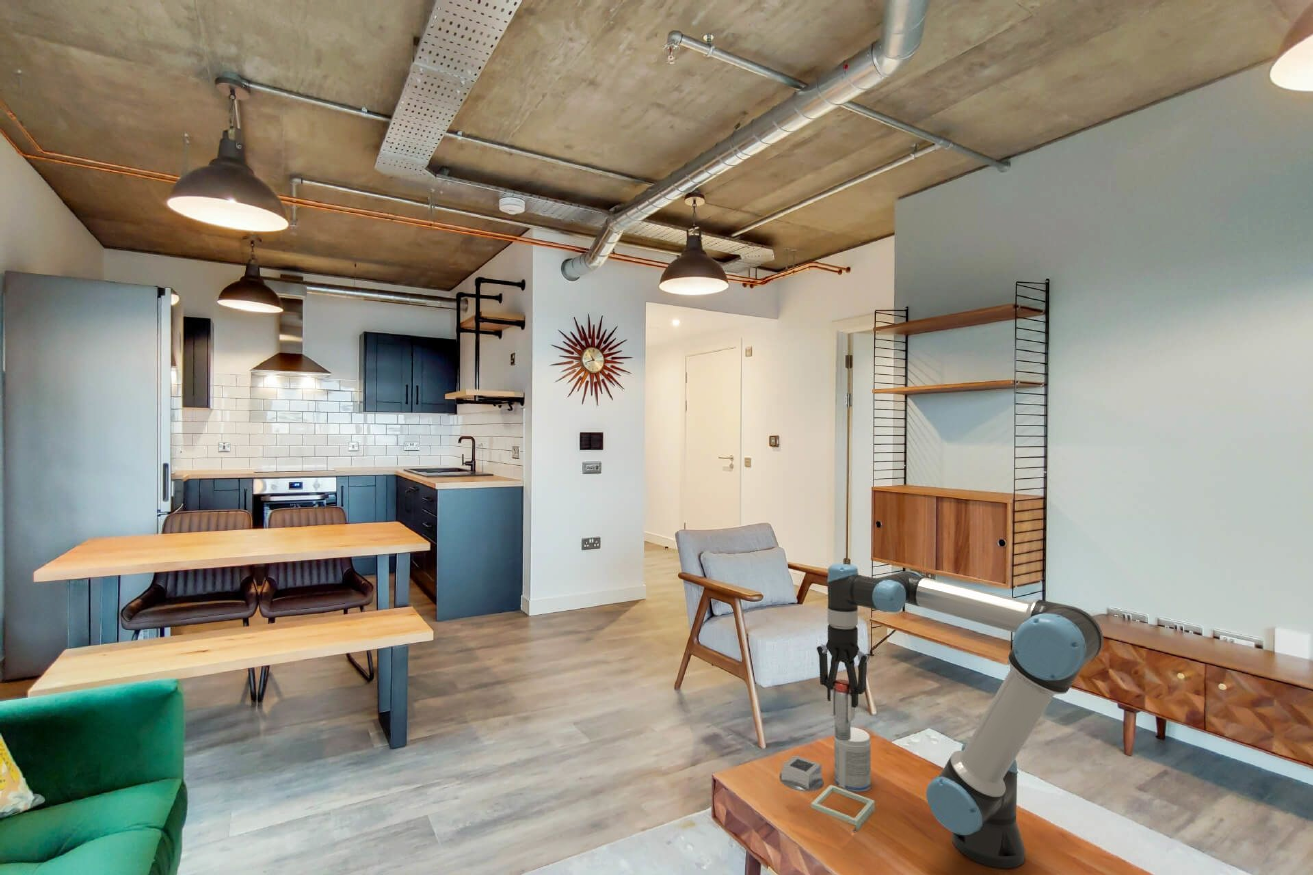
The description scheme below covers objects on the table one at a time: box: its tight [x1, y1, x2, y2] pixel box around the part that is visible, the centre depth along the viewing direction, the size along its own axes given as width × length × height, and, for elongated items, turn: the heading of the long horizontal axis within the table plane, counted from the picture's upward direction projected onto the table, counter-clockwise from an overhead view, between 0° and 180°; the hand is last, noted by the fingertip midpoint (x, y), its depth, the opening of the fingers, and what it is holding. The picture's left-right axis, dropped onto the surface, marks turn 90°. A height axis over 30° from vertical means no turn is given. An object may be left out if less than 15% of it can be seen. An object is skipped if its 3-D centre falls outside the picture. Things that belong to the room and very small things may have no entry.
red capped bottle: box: [834, 679, 852, 741], centre depth 165 cm, size 4×4×14 cm
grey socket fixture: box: [778, 755, 825, 793], centre depth 177 cm, size 12×12×6 cm
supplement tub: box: [833, 726, 872, 792], centre depth 177 cm, size 10×10×15 cm
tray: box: [810, 784, 876, 832], centre depth 165 cm, size 12×12×2 cm
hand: (842, 716), depth 165 cm, fingers closed on red capped bottle, 4 cm apart
